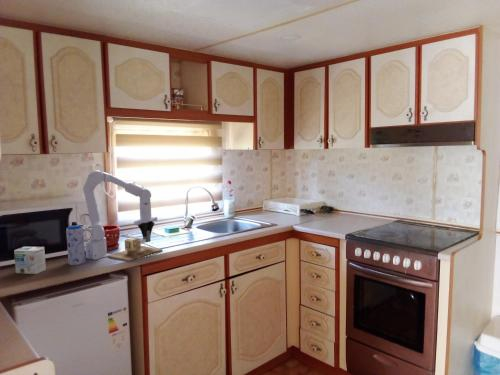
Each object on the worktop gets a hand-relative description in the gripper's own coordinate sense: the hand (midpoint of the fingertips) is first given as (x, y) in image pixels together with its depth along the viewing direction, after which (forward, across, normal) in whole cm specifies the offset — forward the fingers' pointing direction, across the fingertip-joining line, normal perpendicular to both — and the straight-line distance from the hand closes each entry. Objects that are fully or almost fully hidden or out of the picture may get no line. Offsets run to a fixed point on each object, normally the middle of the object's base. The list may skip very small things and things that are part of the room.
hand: (146, 236), depth 210 cm
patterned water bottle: (+8, -32, +14) cm, 36 cm away
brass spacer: (+5, -12, 0) cm, 13 cm away
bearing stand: (+8, -8, 0) cm, 11 cm away
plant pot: (+8, -8, +22) cm, 25 cm away
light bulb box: (+8, -51, +20) cm, 56 cm away
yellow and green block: (+3, -6, 0) cm, 7 cm away
